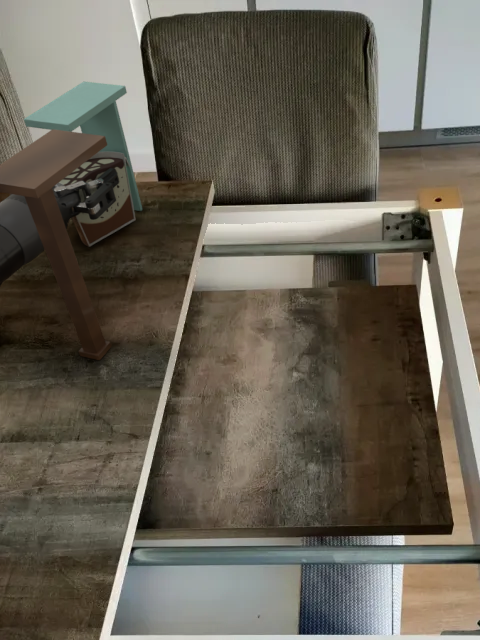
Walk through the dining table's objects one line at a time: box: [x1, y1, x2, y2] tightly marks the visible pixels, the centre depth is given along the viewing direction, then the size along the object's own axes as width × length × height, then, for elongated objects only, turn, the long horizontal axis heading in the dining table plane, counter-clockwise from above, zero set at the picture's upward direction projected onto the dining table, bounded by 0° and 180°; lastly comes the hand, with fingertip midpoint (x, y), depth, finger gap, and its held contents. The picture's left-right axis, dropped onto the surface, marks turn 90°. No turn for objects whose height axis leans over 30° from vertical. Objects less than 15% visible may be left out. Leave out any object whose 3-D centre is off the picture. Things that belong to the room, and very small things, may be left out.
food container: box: [55, 152, 137, 247], centre depth 97 cm, size 12×6×10 cm, turn 145°
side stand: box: [0, 129, 113, 361], centre depth 76 cm, size 7×12×22 cm, turn 160°
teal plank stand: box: [23, 81, 143, 212], centre depth 96 cm, size 7×14×18 cm, turn 160°
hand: (93, 171), depth 96 cm, fingers closed on food container, 7 cm apart
